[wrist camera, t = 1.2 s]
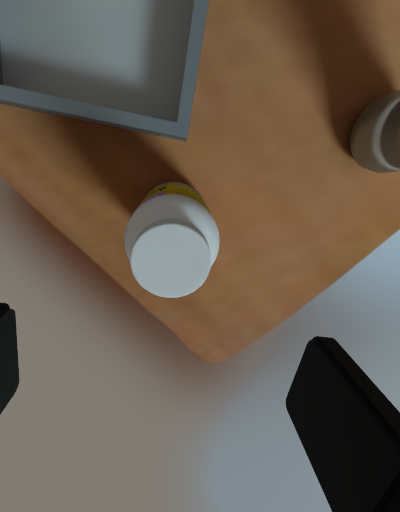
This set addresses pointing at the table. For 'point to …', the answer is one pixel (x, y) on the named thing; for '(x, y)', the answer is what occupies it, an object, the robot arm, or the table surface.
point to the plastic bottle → (378, 135)
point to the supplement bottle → (171, 240)
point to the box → (104, 60)
